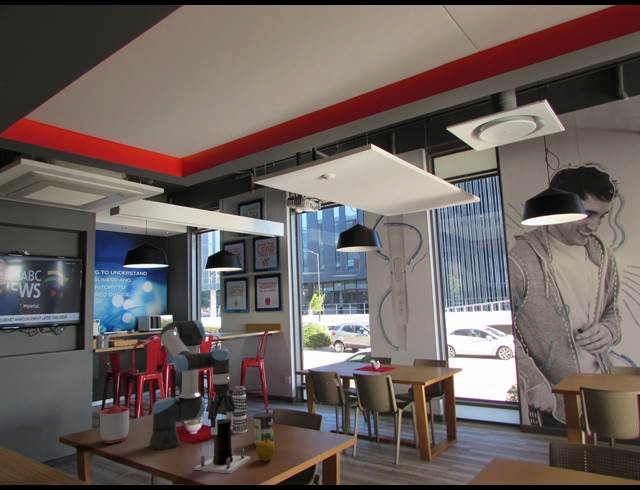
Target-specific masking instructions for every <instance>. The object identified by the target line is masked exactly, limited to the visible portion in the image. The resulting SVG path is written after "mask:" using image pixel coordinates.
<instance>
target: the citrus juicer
mask: <svg viewBox="0 0 640 490" xmlns="http://www.w3.org/2000/svg"><path fill="white" fill-rule="evenodd" d="M98 413H99V434H100V437H101V441H102V443H103V442H119V441H122V440H124V441H126V440H125V439H127V437H128V434H129V430H130V429H129V428H130V407H128V406H118V405H117V404H116V403H115V404H113V405H112V406H111V407H110V408H109V409H108V408H107V409H102V410H100V411H99V412H98ZM119 443H120V442H119Z"/></svg>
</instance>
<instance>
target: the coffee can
mask: <svg viewBox="0 0 640 490" xmlns="http://www.w3.org/2000/svg"><path fill="white" fill-rule="evenodd" d="M252 418H253V436H254V437H253V441H254V442H253V443H254V445H255V446H257V444H258V443H259V442H261V441H265V440H270V441H272V442H273V443H274V442H275V441H274V439H275V438H274V436H275V435H274V414H273V413H272V412H258V413H255V414H254V415H252ZM274 444H275V443H274Z"/></svg>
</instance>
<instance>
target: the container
mask: <svg viewBox="0 0 640 490" xmlns="http://www.w3.org/2000/svg"><path fill="white" fill-rule="evenodd" d="M231 427H232V426H231V420H230V419H227V418H221V419H217V435H213V456H214V457H213V456H212V457H213V464H215V465H226V458H230V463H231V462H232V461H233V458H232V456H234V455H233V453H232V429H231Z"/></svg>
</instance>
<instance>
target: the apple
mask: <svg viewBox="0 0 640 490" xmlns="http://www.w3.org/2000/svg"><path fill="white" fill-rule="evenodd" d="M255 446H256V447H255V453H256V454H257V456H258V458H259V459H260V460H261V461H263V462H264V461H265V462H268V461H270V460H271V459H272V457H273V456H274V454H275V451H276V445H275V443H273V442H272V441H270V440H265V441H261V442H259V443H258V444H257V445H255Z"/></svg>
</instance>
